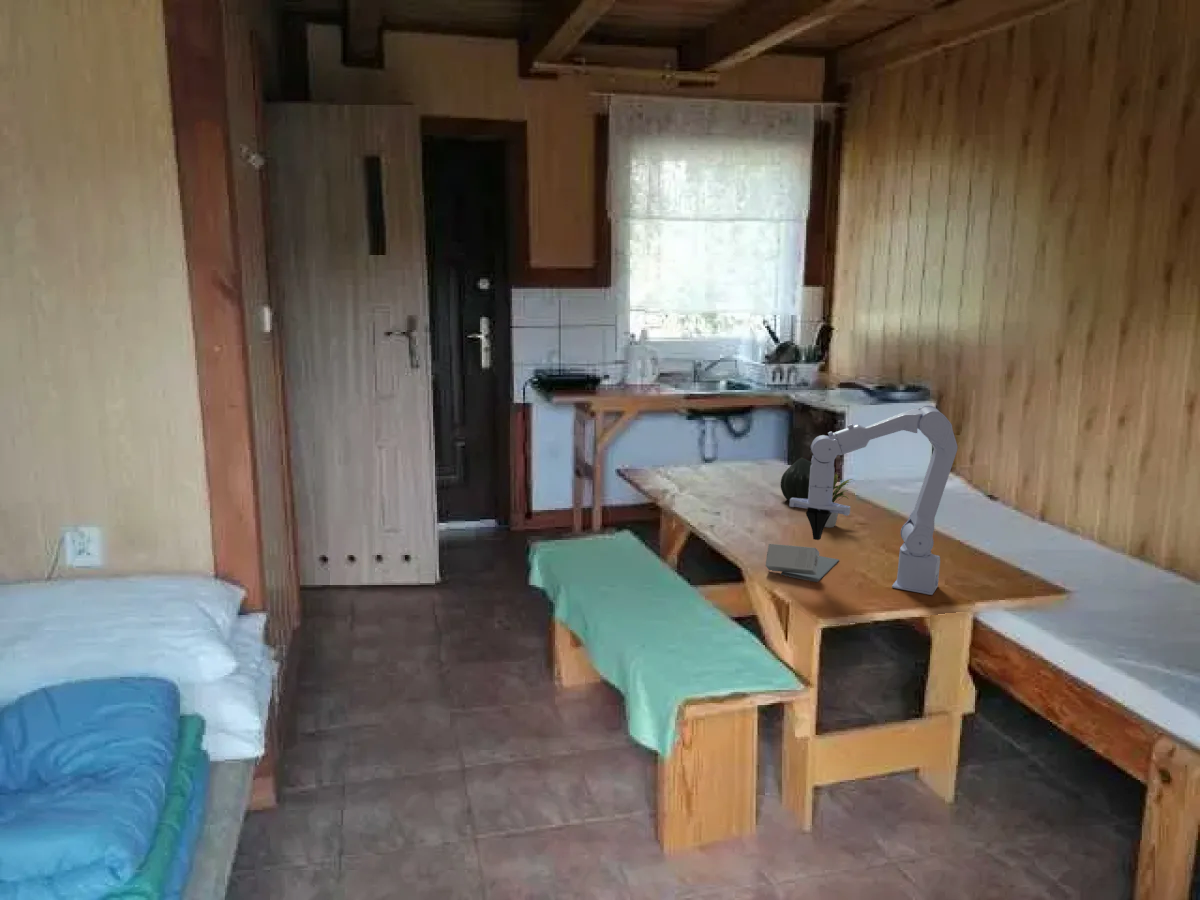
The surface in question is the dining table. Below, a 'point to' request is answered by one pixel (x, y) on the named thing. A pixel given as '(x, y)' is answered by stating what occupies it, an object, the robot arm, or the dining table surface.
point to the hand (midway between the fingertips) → (817, 538)
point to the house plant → (833, 516)
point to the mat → (822, 569)
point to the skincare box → (792, 559)
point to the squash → (796, 480)
